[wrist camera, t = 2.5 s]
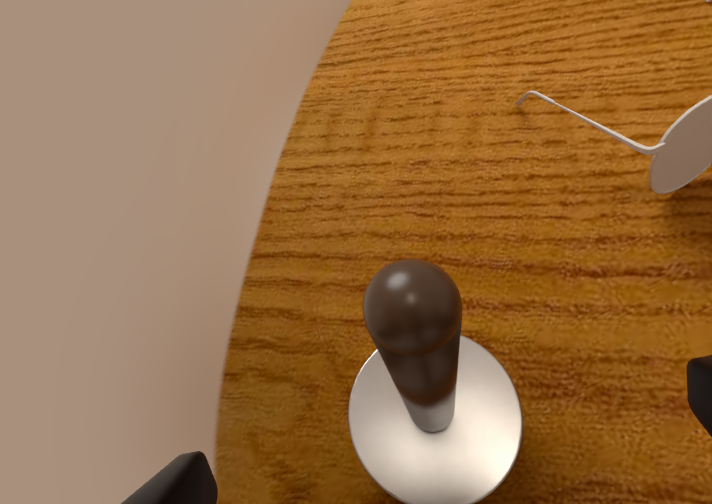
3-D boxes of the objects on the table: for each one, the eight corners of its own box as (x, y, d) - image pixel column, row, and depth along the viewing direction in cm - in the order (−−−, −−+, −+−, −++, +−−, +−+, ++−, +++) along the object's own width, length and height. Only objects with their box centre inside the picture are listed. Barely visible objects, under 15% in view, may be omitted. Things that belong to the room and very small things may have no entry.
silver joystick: (469, 544, 15) (537, 705, 4) (335, 449, 17) (121, 368, 6) (535, 397, 17) (715, 201, 5) (406, 328, 19) (345, 88, 8)
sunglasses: (628, 219, 19) (660, 128, 15) (506, 129, 25) (507, 45, 21) (870, 75, 21) (955, -42, 17) (704, 19, 26) (739, -80, 22)
